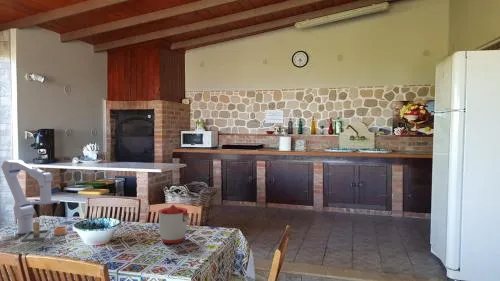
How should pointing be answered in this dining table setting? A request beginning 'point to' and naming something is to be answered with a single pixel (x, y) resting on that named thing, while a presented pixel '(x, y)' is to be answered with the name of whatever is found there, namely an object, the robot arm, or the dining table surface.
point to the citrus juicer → (173, 224)
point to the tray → (30, 237)
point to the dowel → (36, 229)
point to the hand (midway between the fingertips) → (46, 216)
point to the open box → (60, 230)
